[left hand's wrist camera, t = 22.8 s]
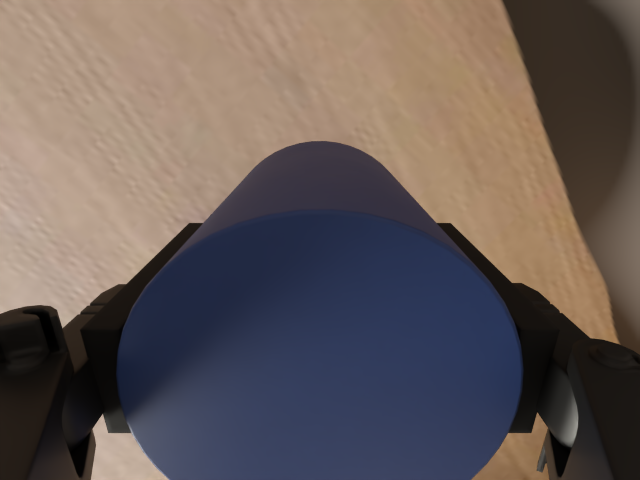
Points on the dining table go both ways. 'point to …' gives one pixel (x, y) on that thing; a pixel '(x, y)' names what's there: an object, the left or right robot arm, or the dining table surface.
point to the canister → (319, 336)
